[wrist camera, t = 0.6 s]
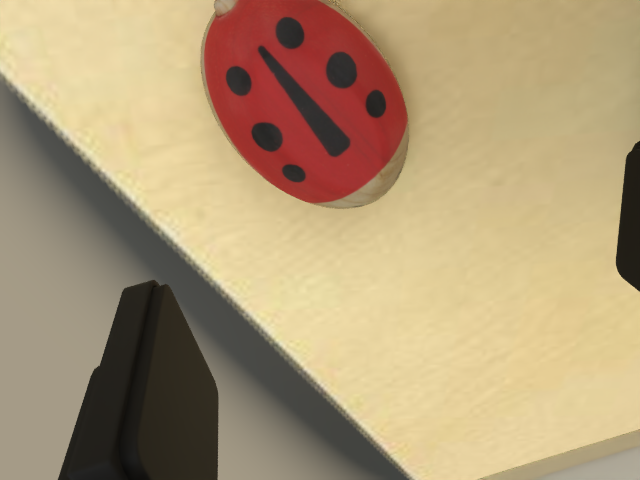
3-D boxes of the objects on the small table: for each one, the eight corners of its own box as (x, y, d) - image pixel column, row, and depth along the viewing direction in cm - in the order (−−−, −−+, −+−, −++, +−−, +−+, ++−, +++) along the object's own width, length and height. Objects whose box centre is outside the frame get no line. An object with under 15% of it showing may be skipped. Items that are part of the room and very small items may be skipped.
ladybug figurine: (324, 226, 23) (340, 267, 20) (150, 67, 19) (137, 89, 15) (437, 126, 22) (472, 155, 19) (279, -74, 17) (292, -79, 14)
